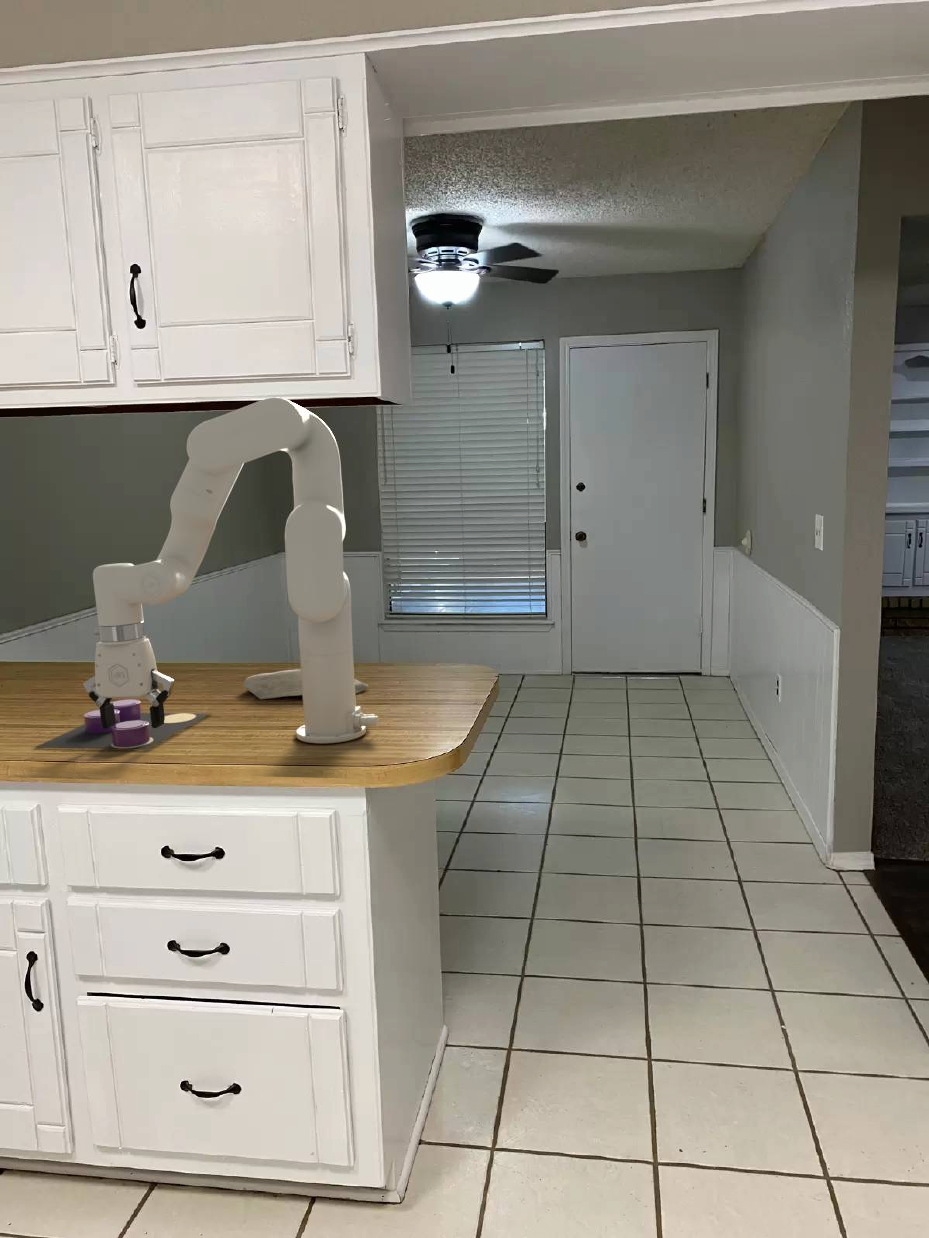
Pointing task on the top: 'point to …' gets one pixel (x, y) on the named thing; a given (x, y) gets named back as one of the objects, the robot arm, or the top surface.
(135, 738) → the purple short cylinder
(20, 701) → the top surface
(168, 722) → the mat
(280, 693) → the stone
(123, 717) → the dish
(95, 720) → the dish
